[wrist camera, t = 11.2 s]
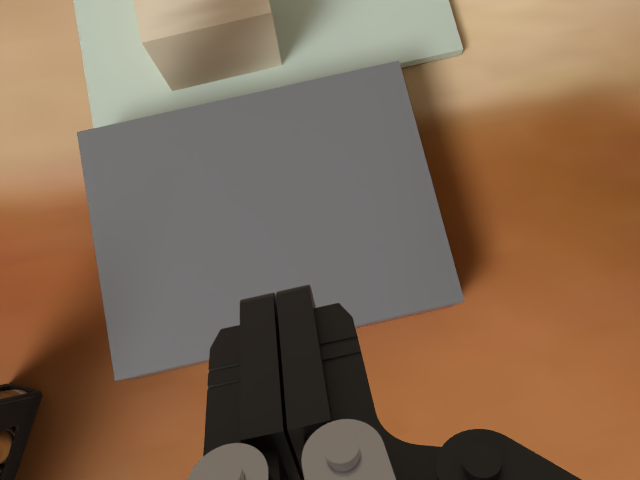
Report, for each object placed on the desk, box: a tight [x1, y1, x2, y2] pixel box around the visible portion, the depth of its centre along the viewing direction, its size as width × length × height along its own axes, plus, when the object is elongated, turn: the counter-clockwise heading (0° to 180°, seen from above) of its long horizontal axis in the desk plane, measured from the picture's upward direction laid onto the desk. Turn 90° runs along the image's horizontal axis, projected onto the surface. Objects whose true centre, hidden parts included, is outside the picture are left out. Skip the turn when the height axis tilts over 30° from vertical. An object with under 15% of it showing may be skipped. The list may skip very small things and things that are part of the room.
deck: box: [77, 61, 464, 381], centre depth 29 cm, size 16×12×3 cm
